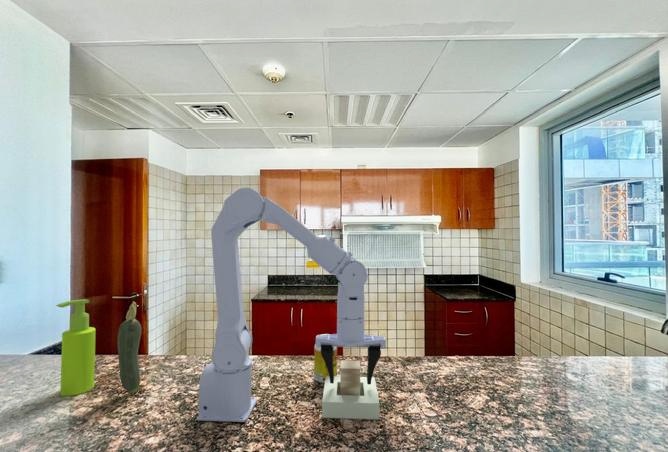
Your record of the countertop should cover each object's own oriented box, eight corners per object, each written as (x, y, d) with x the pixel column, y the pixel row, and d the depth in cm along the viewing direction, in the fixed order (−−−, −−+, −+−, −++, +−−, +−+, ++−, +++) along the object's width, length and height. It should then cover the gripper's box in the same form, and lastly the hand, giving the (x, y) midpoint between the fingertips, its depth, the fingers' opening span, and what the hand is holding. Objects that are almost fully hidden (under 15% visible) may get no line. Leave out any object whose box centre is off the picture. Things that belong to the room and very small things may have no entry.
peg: (340, 408, 63) (340, 368, 64) (340, 397, 67) (340, 360, 68) (360, 408, 63) (360, 368, 64) (359, 398, 67) (359, 360, 68)
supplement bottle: (324, 386, 72) (324, 341, 73) (309, 378, 76) (309, 336, 77) (341, 378, 76) (341, 336, 77) (326, 371, 80) (326, 331, 81)
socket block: (321, 417, 60) (322, 401, 60) (325, 389, 71) (325, 375, 71) (379, 419, 60) (379, 403, 60) (374, 390, 71) (374, 377, 71)
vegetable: (128, 400, 66) (130, 305, 66) (110, 398, 67) (113, 303, 67) (144, 390, 70) (146, 300, 71) (128, 388, 71) (130, 299, 72)
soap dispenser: (49, 394, 68) (51, 301, 69) (86, 381, 74) (88, 296, 75) (62, 400, 66) (64, 304, 66) (99, 386, 72) (101, 298, 72)
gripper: (314, 320, 62) (313, 390, 62) (387, 322, 62) (387, 392, 61) (317, 312, 69) (317, 374, 69) (383, 313, 69) (383, 375, 68)
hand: (350, 381), depth 65 cm, fingers open, 7 cm apart
